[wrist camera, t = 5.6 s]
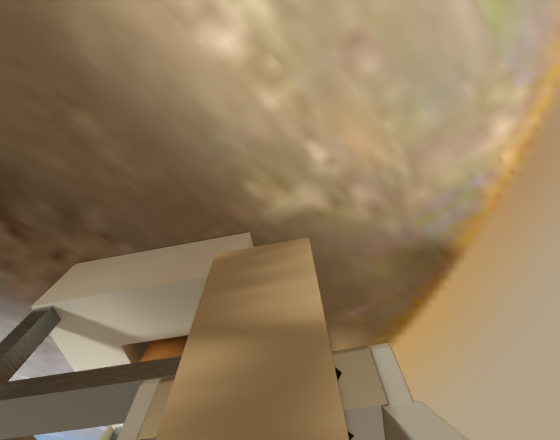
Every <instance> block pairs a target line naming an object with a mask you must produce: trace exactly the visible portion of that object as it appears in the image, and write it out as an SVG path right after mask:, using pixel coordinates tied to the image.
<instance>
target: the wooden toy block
mask: <svg viewBox="0 0 560 440" xmlns="http://www.w3.org/2000/svg"><path fill="white" fill-rule="evenodd" d="M155 440H349V437H348V432H347V427H346V422H345V417H344V412H343V407H342V402H341V397H340V392H339V387H338V382H337V376H336V371H335V366H334V361H333V356H332V351H331V346H330V341H329V336H328V331H327V326H326V321H325V316H324V311H323V306H322V301H321V296H320V291H319V286H318V281H317V276H316V271H315V266H314V261H313V256H312V250H311V245H310V240H309V237H305V238H299V239H294V240H288V241H283V242H277V243H272V244H266V245H261V246H256V247H250V248H245V249H239V250H234V251H228V252H223V253H217V254H215V255H214V258H213V261H212V264H211V267H210V270H209V273H208V276H207V280H206V283H205V286H204V289H203V292H202V295H201V298H200V301H199V304H198V308H197V311H196V314H195V317H194V320H193V323H192V326H191V329H190V332H189V336H188V339H187V342H186V345H185V348H184V351H183V354H182V357H181V360H180V364H179V367H178V370H177V373H176V376H175V379H174V382H173V385H172V388H171V392H170V395H169V398H168V401H167V404H166V407H165V410H164V413H163V416H162V420H161V423H160V426H159V429H158V432H157V435H156V438H155Z"/></svg>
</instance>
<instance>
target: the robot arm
mask: <svg viewBox="0 0 560 440" xmlns="http://www.w3.org/2000/svg"><path fill="white" fill-rule="evenodd" d="M332 356H333V361H334V366H335V371H336V376H337V382H338V387H339V392H340V397H341V402H342V407H343V412H344V417H345V422H346V427H347V432H348V437H349V440H468V439H467V438H466V437H464V436H463V435H462V434H461V433H459V432H458V431H457V430H456V429H455V428H453V427H452V426H451V425H450V424H448V423H447V422H446V421H445V420H443V419H442V418H441V417H440V416H438V415H437V414H436V413H435V412H433V411H432V410H431V409H430V408H429V407H427V406H426V405H425V404H424V403H422V402H421V401H416V402H414V401H413V398H412V396H411V393H410V391H409V388H408V386H407V384H406V381H405V379H404V377H403V374H402V372H401V370H400V367H399V365H398V362H397V360H396V357H395V355H394V353H393V350H392V348H391V346H390V345H389V344H388V343H384V344H378V345H371V346H369V347H368V346H364V347H358V348H352V349H346V350H340V351H334V352H332ZM174 379H175V376H174V377H166V378H159V379H152V380H145V381H144V382H143V383H142V384H141V385H140V387H139V389H138V391H137V394H136V396H135V398H134V401H133V403H132V405H131V408H130V410H129V412H128V415H127V417H126V420H125V422H124V424H123V427H122V429H121V431H120V434H119V436H118V438H117V440H155V438H156V435H157V432H158V429H159V426H160V423H161V420H162V416H163V413H164V410H165V407H166V404H167V401H168V398H169V395H170V392H171V388H172V385H173V382H174Z"/></svg>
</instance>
